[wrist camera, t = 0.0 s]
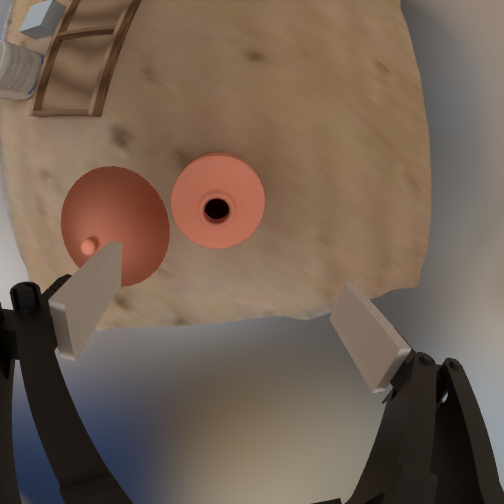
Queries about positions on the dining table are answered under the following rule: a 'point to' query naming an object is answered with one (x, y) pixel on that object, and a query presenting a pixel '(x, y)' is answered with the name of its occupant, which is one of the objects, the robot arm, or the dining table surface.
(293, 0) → the dining table surface
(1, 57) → the supplement tub
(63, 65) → the caddy
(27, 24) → the slate block
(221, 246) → the ceramic vessels
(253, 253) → the dining table surface
